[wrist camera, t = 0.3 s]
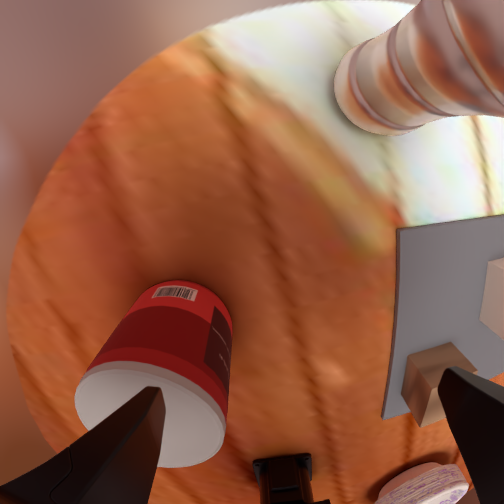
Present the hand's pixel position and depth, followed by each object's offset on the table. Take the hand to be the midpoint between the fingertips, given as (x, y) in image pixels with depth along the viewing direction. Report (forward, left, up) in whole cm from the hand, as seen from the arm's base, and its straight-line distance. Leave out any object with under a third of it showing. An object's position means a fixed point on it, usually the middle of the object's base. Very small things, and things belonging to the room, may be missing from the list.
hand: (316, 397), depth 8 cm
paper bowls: (-39, -17, -14) cm, 45 cm away
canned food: (-4, +8, -14) cm, 17 cm away
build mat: (-9, -18, -14) cm, 25 cm away
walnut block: (-13, -13, -13) cm, 23 cm away
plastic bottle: (+11, -8, -14) cm, 20 cm away
